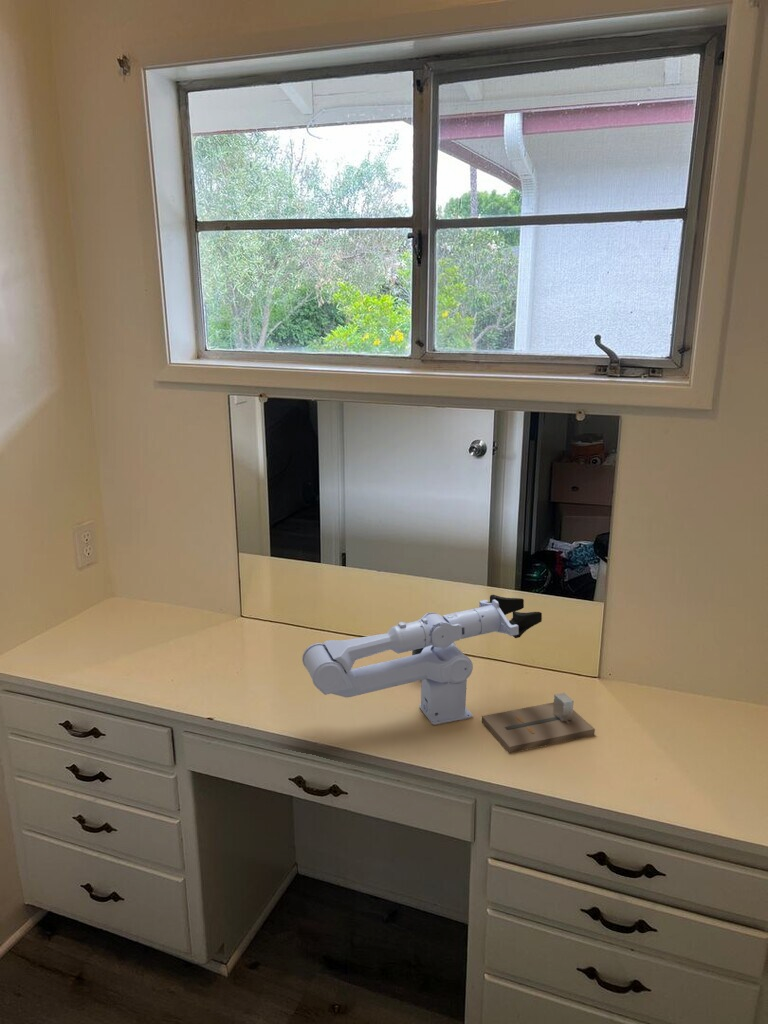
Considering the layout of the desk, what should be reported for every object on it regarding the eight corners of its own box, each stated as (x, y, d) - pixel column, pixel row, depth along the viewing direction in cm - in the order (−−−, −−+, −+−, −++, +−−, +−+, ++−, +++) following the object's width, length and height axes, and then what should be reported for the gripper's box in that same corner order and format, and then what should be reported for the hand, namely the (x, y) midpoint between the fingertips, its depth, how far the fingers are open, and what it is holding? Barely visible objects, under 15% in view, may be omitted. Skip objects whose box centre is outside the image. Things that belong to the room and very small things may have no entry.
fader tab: (562, 721, 156) (563, 702, 155) (552, 712, 159) (554, 694, 158) (572, 719, 157) (573, 701, 156) (562, 711, 160) (564, 692, 159)
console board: (509, 753, 148) (509, 746, 147) (481, 722, 159) (482, 715, 158) (594, 735, 154) (594, 728, 154) (562, 706, 165) (563, 700, 165)
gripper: (491, 618, 151) (549, 606, 155) (460, 592, 164) (515, 581, 168) (491, 649, 153) (549, 636, 157) (461, 621, 166) (515, 609, 170)
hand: (531, 609), depth 163 cm, fingers open, 7 cm apart
